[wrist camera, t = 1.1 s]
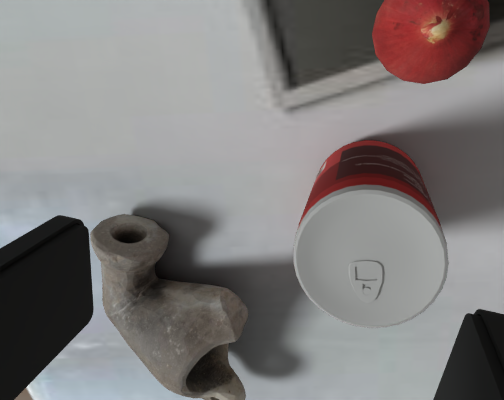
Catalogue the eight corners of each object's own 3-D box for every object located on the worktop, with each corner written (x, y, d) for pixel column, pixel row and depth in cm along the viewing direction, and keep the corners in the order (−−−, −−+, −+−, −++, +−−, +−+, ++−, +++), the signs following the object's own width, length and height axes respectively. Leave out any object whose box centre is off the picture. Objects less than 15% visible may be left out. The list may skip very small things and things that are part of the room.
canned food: (335, 249, 33) (322, 340, 23) (299, 157, 31) (268, 214, 21) (436, 223, 30) (469, 315, 20) (403, 121, 28) (423, 167, 18)
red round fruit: (411, -42, 25) (428, -74, 18) (493, 8, 25) (545, -4, 17) (355, 47, 27) (350, 52, 20) (429, 93, 27) (451, 114, 20)
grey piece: (195, 277, 48) (289, 366, 39) (134, 335, 45) (220, 445, 36) (130, 185, 36) (245, 281, 27) (40, 255, 33) (136, 391, 24)
